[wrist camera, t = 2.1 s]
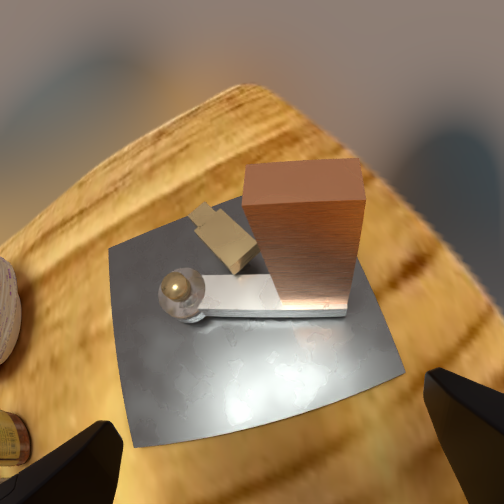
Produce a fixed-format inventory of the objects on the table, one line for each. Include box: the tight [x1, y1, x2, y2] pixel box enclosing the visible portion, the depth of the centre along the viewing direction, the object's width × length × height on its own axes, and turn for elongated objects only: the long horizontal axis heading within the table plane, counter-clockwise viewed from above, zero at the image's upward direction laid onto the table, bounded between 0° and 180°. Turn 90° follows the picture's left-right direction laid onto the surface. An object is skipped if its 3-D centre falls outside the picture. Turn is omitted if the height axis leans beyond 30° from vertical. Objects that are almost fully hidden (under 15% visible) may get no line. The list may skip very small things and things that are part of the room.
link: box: [158, 158, 366, 323], centre depth 17 cm, size 13×4×12 cm, turn 86°
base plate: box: [109, 195, 406, 448], centre depth 23 cm, size 18×20×1 cm
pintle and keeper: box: [161, 202, 261, 302], centre depth 23 cm, size 7×8×5 cm
